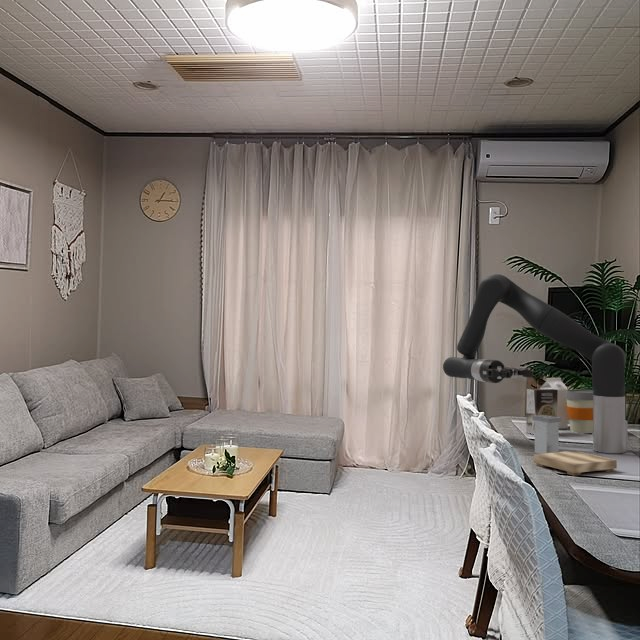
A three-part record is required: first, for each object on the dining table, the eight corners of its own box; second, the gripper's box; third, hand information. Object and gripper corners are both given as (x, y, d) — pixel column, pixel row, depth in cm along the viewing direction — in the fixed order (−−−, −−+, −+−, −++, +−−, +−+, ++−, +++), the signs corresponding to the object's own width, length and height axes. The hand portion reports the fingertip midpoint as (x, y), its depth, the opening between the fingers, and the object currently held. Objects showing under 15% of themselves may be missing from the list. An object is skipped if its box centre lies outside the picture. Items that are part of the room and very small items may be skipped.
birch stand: (574, 461, 197) (574, 450, 197) (616, 471, 183) (616, 460, 183) (533, 465, 191) (533, 454, 191) (574, 476, 177) (574, 464, 177)
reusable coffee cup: (565, 433, 247) (565, 391, 247) (565, 428, 259) (565, 388, 259) (603, 435, 243) (603, 393, 243) (601, 430, 255) (601, 390, 255)
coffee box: (535, 435, 242) (535, 389, 242) (525, 432, 248) (525, 388, 249) (558, 434, 245) (558, 389, 245) (547, 431, 251) (547, 387, 251)
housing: (544, 454, 206) (544, 414, 207) (561, 459, 200) (561, 417, 200) (532, 455, 205) (532, 415, 205) (549, 460, 198) (549, 418, 198)
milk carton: (539, 427, 262) (540, 377, 262) (554, 426, 265) (554, 376, 265) (553, 429, 256) (553, 378, 256) (567, 428, 259) (567, 378, 259)
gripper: (470, 359, 224) (502, 362, 210) (505, 359, 230) (539, 361, 215) (470, 382, 224) (502, 387, 210) (504, 381, 230) (538, 385, 215)
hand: (521, 374), depth 213 cm, fingers open, 8 cm apart
